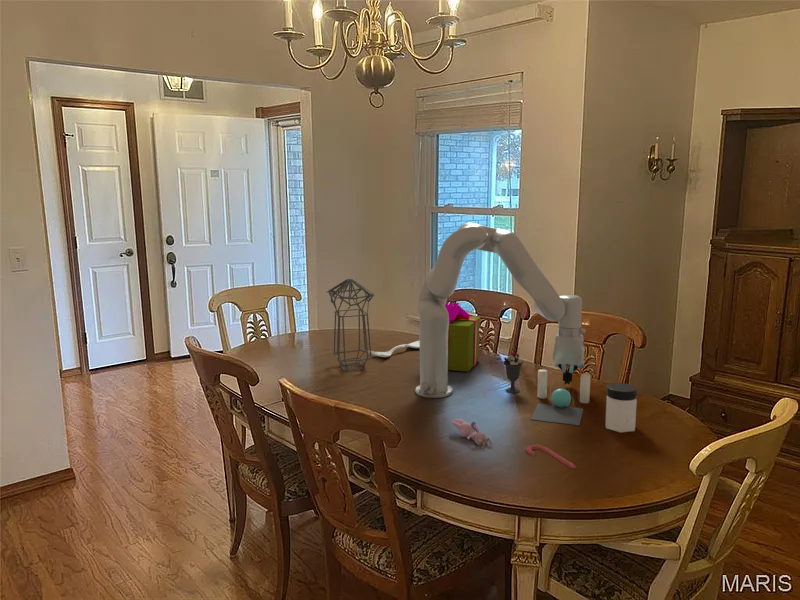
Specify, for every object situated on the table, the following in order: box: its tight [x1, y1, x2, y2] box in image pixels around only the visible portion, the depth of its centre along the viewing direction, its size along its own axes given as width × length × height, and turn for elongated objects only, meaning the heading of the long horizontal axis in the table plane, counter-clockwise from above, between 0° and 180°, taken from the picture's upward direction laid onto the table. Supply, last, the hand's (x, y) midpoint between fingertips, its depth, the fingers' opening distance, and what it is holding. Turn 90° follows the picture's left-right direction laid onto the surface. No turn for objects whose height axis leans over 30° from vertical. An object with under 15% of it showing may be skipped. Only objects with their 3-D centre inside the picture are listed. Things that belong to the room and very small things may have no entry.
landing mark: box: [530, 403, 584, 426], centre depth 185 cm, size 14×14×1 cm
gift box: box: [445, 301, 481, 372], centre depth 235 cm, size 21×21×25 cm
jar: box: [604, 382, 638, 434], centre depth 173 cm, size 9×8×12 cm
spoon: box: [368, 340, 420, 358], centre depth 257 cm, size 9×32×4 cm, turn 134°
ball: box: [550, 387, 572, 408], centre depth 190 cm, size 6×6×6 cm
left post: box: [536, 369, 548, 400], centre depth 199 cm, size 3×3×9 cm
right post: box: [579, 373, 591, 404], centre depth 194 cm, size 3×3×9 cm
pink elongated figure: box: [449, 418, 492, 449], centre depth 168 cm, size 6×6×15 cm
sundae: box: [502, 347, 524, 394], centre depth 205 cm, size 7×7×15 cm
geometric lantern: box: [326, 278, 375, 372], centre depth 232 cm, size 16×16×35 cm
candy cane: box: [525, 444, 577, 470], centre depth 155 cm, size 6×15×2 cm, turn 25°
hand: (567, 382), depth 209 cm, fingers closed
